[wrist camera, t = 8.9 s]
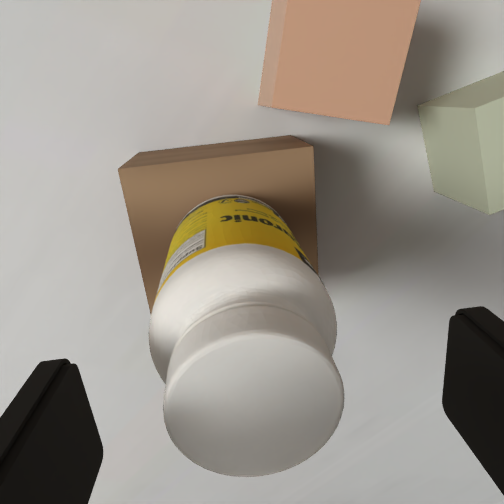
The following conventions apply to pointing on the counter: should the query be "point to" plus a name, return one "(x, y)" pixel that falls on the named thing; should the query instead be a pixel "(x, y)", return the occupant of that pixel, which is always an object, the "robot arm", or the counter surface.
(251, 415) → the supplement bottle
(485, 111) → the sage block
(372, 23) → the terracotta block
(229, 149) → the walnut block
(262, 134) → the counter surface
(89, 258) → the counter surface
